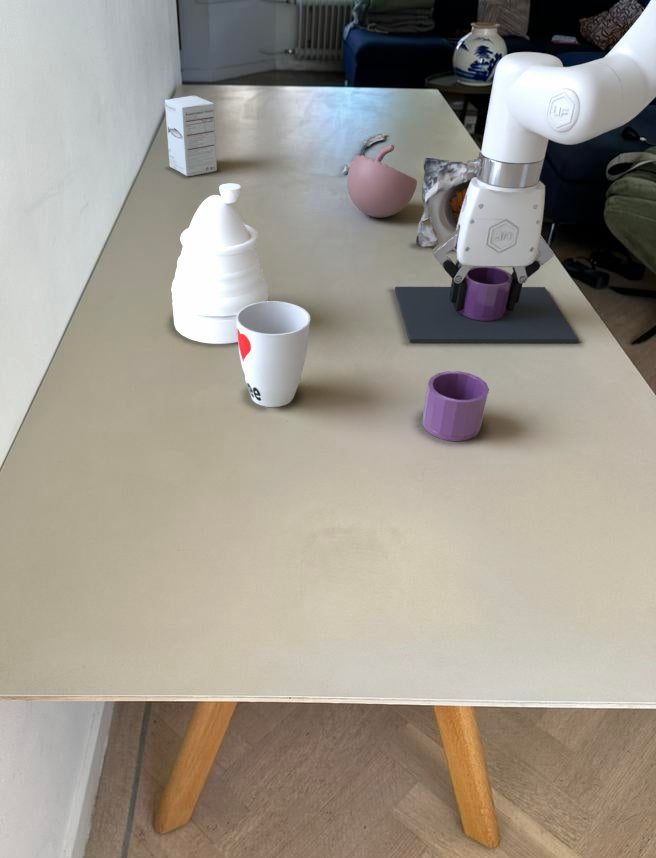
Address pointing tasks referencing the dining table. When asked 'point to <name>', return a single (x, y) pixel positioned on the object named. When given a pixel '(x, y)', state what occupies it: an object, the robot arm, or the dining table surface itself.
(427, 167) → the meal
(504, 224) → the robot arm
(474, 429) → the purple faceted cup
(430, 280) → the dining table surface
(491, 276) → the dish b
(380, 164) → the mortar and pestle
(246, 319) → the cup
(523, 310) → the mat
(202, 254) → the honey pot
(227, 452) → the dining table surface
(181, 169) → the white packaging box
